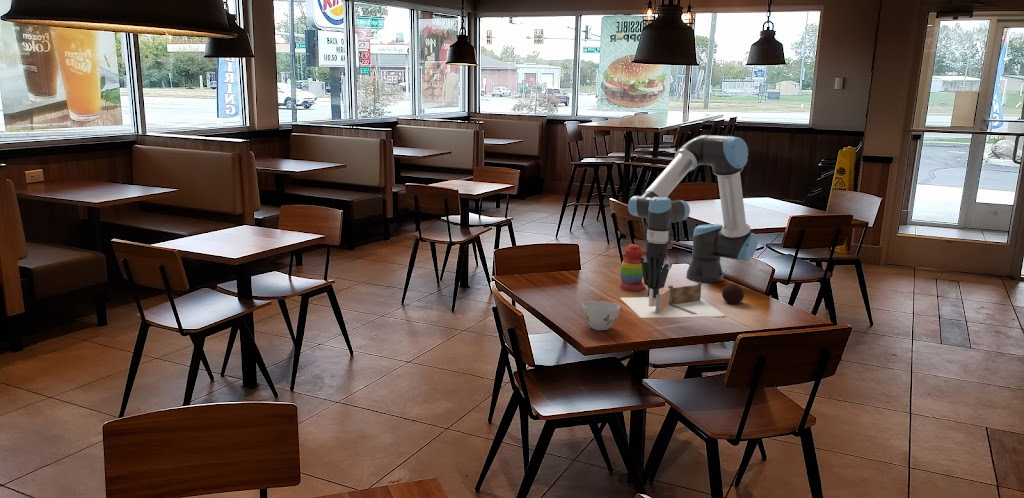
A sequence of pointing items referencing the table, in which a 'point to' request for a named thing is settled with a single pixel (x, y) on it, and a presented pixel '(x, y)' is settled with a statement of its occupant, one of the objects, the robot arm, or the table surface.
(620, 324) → the table surface
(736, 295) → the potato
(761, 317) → the table surface
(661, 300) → the fence panel
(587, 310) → the teacup
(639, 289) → the stacking bear
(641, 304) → the board
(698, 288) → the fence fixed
